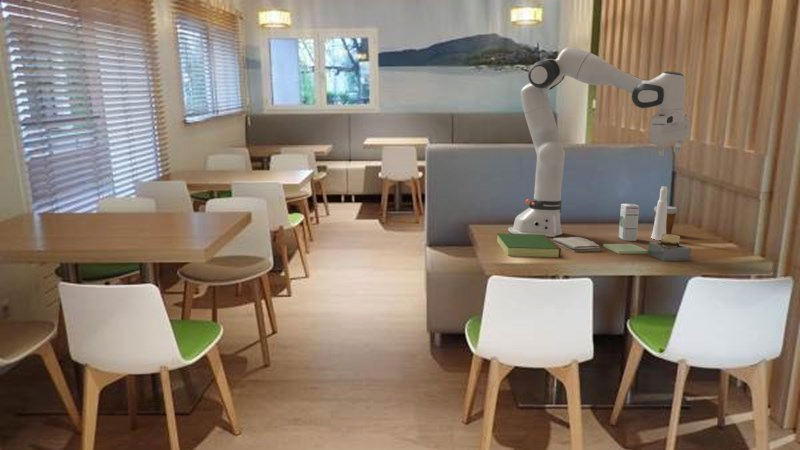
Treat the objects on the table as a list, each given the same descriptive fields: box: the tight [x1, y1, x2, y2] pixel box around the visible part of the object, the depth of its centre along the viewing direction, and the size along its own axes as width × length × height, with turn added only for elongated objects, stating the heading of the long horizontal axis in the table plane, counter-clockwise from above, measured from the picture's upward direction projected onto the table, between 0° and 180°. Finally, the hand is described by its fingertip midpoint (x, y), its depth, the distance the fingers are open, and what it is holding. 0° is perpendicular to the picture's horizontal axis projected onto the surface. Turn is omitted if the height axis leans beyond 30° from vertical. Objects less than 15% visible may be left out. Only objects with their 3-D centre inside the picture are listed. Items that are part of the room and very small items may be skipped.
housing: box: [647, 241, 692, 262], centre depth 214 cm, size 10×10×4 cm
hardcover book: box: [496, 232, 562, 258], centre depth 222 cm, size 25×19×4 cm
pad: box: [602, 243, 649, 255], centre depth 224 cm, size 12×12×1 cm
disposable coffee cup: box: [653, 205, 678, 234], centre depth 256 cm, size 10×10×12 cm
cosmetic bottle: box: [650, 185, 669, 241], centre depth 244 cm, size 6×6×22 cm
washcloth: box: [551, 236, 602, 253], centre depth 228 cm, size 12×18×3 cm, turn 15°
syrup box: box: [617, 203, 640, 242], centre depth 243 cm, size 6×6×14 cm
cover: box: [660, 233, 681, 248], centre depth 213 cm, size 6×6×8 cm
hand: (669, 153), depth 223 cm, fingers open, 8 cm apart
